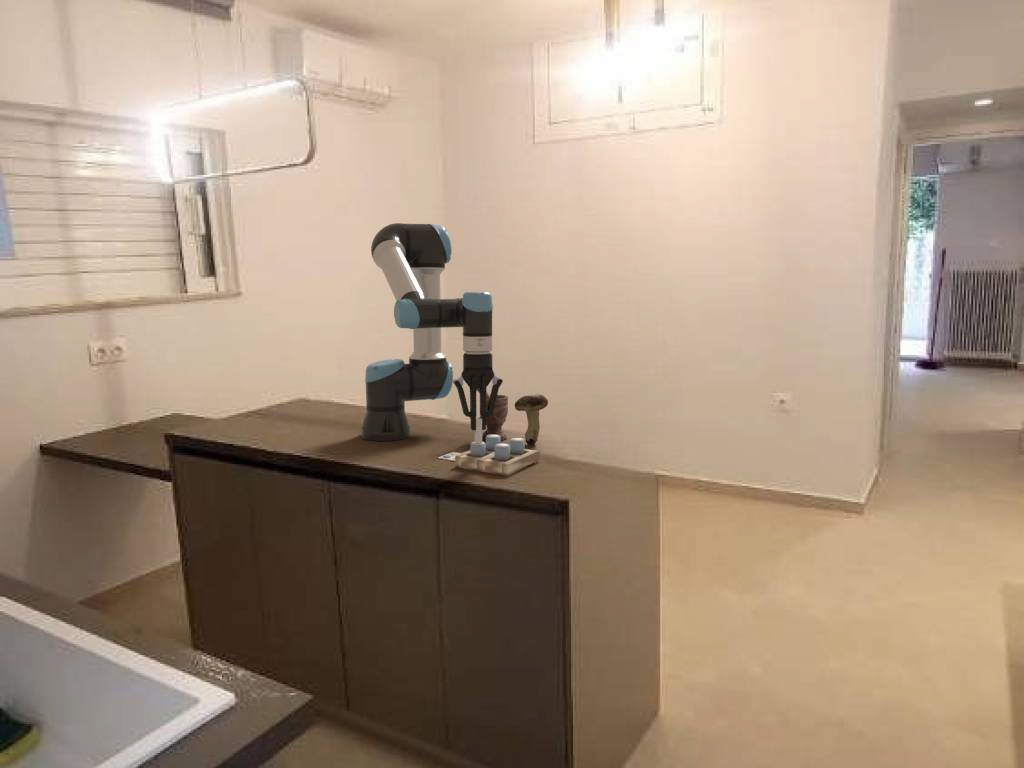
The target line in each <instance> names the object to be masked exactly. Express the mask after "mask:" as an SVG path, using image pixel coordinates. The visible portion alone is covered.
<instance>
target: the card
mask: <svg viewBox="0 0 1024 768" xmlns="http://www.w3.org/2000/svg"><path fill="white" fill-rule="evenodd" d="M462 453H463V452H461V453H460V452H456V451H455V452H454V451H453V452H450V453H449V452H448V453H447V454H444V455H441V456H439V457H437V459H439V460H445V461H450V462H455V456H456V455H459V454H462Z"/></svg>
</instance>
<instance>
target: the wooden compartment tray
mask: <svg viewBox="0 0 1024 768" xmlns="http://www.w3.org/2000/svg"><path fill="white" fill-rule="evenodd" d="M461 453H462V454H459V455H456V456H455V461H454V462H455V463H454V464H455V465H454V466H455V468H458V469H465V470H471V471H476V472H483V473H488V474H494V475H501V476H504V477H506V476H507V477H509V476H510V475H513V474H515V473H517V471H518V472H520V471H522V470H524V469H526V468H528V467H527V466H529V465H531V464H533V463H535V462H537V461H540V459H539V458H540V456H539V455H540V451H539V450H533V449H528V448H525V453H524V454H522V455H514V454H510V460H508V461H497V460H495V459H494V457H495V451H488V450H486V456H484V457H482V458H479V457H472V456H470V450H467V451H464V452H461ZM537 463H538V462H537ZM535 464H536V463H535ZM533 465H534V464H533ZM531 466H532V465H531ZM525 467H526V468H525ZM529 467H530V466H529ZM523 468H524V469H523ZM521 469H522V470H521ZM519 470H520V471H519Z"/></svg>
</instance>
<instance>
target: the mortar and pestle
mask: <svg viewBox="0 0 1024 768" xmlns="http://www.w3.org/2000/svg"><path fill="white" fill-rule="evenodd" d="M477 392H478V393H479V394H480V391H479V388H477ZM489 399H490V394H489V393H488V391H487V390H486V411H487V407H488V403H489ZM508 412H509V396H508V395H503V394H497V398H496V403H495V407H494V411H493V414H492V415H490V416H487V418H486V429H485V431H484V432H482V440H484V441H486V436H487V435H499V436H501V441H504V440H506V439H507V433H506V432H505V431H504V430H503V429H502V426H503V425H504V424H505V422H506V421H507V417H508Z"/></svg>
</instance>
